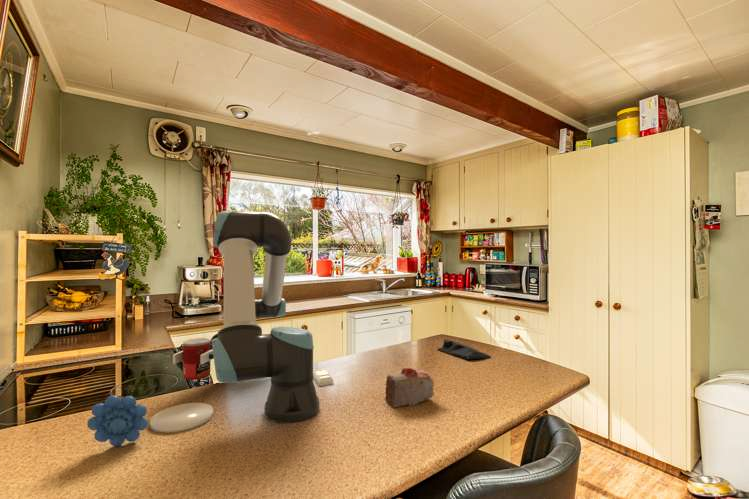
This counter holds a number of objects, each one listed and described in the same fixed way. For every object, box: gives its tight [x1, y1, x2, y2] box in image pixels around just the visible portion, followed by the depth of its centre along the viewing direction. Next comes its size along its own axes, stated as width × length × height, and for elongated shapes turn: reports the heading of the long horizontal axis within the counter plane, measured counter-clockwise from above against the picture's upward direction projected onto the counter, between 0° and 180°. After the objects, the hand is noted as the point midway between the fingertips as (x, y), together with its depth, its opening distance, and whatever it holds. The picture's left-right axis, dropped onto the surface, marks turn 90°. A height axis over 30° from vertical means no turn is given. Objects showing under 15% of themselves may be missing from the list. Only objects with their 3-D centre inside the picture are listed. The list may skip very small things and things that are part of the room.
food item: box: [384, 367, 435, 408], centre depth 109 cm, size 14×8×10 cm, turn 117°
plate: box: [149, 402, 214, 434], centre depth 97 cm, size 15×15×1 cm
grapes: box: [86, 394, 149, 447], centre depth 83 cm, size 12×7×12 cm, turn 122°
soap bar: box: [313, 369, 334, 387], centre depth 126 cm, size 5×9×3 cm, turn 23°
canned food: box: [182, 337, 211, 381], centre depth 113 cm, size 8×8×11 cm
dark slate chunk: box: [437, 338, 492, 360], centre depth 159 cm, size 15×22×5 cm
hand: (187, 359), depth 108 cm, fingers closed on canned food, 8 cm apart
